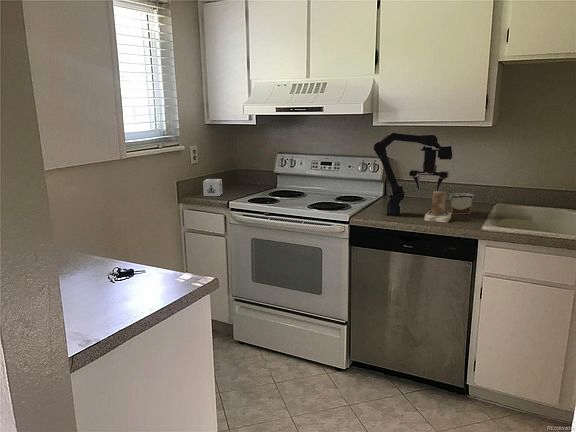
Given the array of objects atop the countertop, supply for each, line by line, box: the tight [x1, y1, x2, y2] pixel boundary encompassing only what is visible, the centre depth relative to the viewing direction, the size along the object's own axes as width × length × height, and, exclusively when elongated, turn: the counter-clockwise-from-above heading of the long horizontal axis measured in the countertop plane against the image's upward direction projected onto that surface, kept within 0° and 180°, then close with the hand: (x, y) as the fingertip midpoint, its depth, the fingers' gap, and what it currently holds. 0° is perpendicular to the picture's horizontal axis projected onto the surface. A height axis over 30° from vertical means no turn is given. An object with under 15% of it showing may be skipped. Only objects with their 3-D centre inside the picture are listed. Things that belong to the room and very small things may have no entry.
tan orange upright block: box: [431, 190, 447, 215], centre depth 233 cm, size 6×6×11 cm
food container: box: [449, 192, 475, 215], centre depth 247 cm, size 12×6×10 cm, turn 92°
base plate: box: [424, 209, 452, 223], centre depth 235 cm, size 11×11×3 cm
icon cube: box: [202, 178, 223, 197], centre depth 305 cm, size 10×10×10 cm
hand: (428, 190), depth 240 cm, fingers open, 9 cm apart
